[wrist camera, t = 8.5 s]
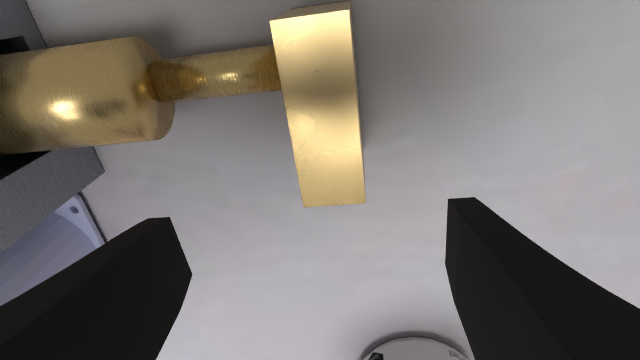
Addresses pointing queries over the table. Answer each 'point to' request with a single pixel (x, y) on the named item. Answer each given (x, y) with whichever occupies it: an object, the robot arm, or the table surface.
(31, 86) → the plunger with bar handle
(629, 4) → the table surface
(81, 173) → the bore block
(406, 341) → the supplement can
